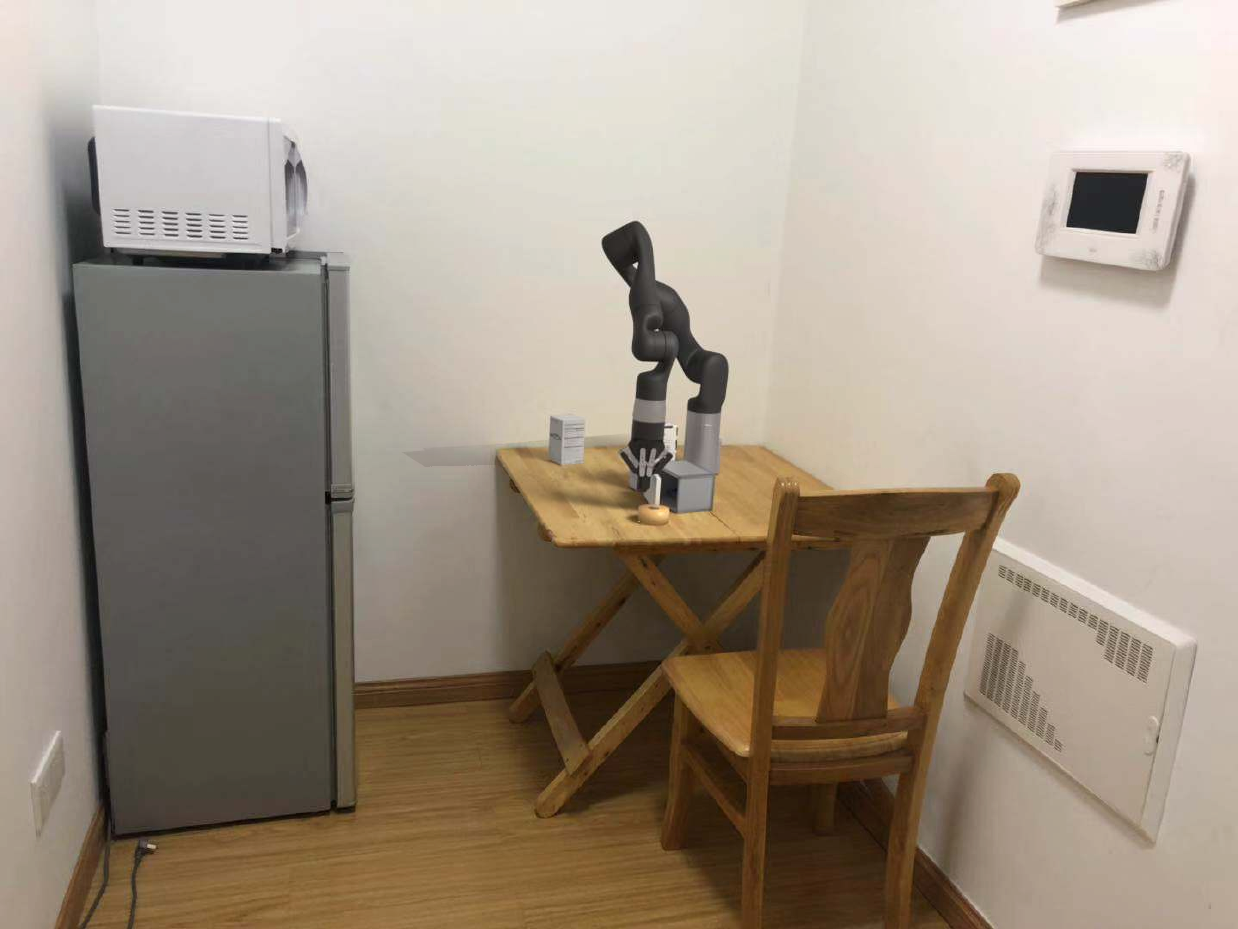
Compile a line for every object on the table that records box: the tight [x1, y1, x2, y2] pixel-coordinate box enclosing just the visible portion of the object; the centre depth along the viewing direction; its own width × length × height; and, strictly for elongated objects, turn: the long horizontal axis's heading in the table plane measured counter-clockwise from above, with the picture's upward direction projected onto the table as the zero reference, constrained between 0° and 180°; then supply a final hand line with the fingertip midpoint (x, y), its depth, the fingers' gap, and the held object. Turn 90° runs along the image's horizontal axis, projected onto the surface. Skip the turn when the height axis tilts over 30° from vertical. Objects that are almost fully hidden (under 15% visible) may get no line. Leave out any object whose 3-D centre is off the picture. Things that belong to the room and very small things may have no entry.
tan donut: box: [637, 503, 670, 527], centre depth 226 cm, size 7×7×3 cm
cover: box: [642, 474, 661, 505], centre depth 237 cm, size 15×1×8 cm, turn 9°
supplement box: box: [547, 413, 586, 466], centre depth 273 cm, size 7×7×13 cm
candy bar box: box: [628, 421, 679, 492], centre depth 252 cm, size 11×5×16 cm, turn 118°
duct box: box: [653, 459, 717, 514], centre depth 240 cm, size 10×14×9 cm
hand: (642, 491), depth 232 cm, fingers closed
